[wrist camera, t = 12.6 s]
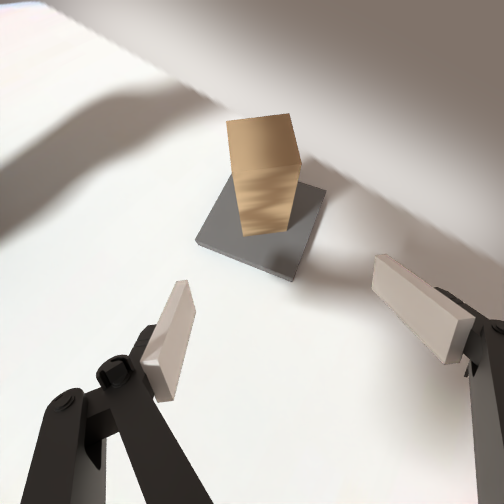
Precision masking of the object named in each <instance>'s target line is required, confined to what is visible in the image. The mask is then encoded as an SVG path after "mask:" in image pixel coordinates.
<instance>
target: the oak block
mask: <svg viewBox="0 0 504 504" xmlns="http://www.w3.org/2000/svg"><path fill="white" fill-rule="evenodd" d="M226 124H227V133H228V142H229V151H230V160H231V169H232V176H233V182H234V187H235V193H236V198H237V204H238V210H239V215H240V221H241V226H242V232H243V237H245V236H253V235H261V234H269V233H277V232H284V231H287V226H288V222H289V218H290V213H291V209H292V204H293V200H294V196H295V191H296V187H297V182H298V178H299V174H300V169H301V165H302V163H301V159H300V155H299V151H298V147H297V142H296V138H295V135H294V131H293V126H292V122H291V118H290V115H289V113H288V114H280V115H272V116H264V117H256V118H247V119H239V120H231V121H226Z"/></svg>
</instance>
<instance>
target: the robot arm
mask: <svg viewBox="0 0 504 504" xmlns="http://www.w3.org/2000/svg"><path fill="white" fill-rule="evenodd" d="M372 290H373V291H374V292H375V293H376V294H377V295H378V296H379V297H380V298H381V299H382V300H383V301H384V303H385V304H386V305H387V306H388V307H389V308H390V309H391V310H392V311H393V312H394V313H395V314H396V315H397V316H398V317H399V318H400V319H401V320H402V321H403V322H404V323H405V324H406V326H407V327H408V328H409V329H410V330H411V331H412V332H413V333H414V334H415V335H416V336H417V337H418V338H419V339H420V340H421V341H422V342H423V343H424V344H425V345H426V346H427V347H428V349H429V350H430V351H431V352H432V353H433V354H434V355H435V356H436V357H437V358H438V359H439V360H440V361H441V362H442V363H443V364H444V365H446V364H453V363H460V360H461V358H462V355H463V353H464V354H465V355H466V356H467V357H468V358H469V359H470V361H469V364H468V367H467V369H466V372H465V375H464V377H467V376H468V374H469V384H470V397H471V411H472V424H473V438H474V452H475V465H476V479H477V492H478V504H504V321H500V320H489V319H488V318H486V317H485V316H483V315H482V314H480V313H479V312H477V311H476V310H474V309H473V308H471V307H470V306H468V305H467V304H465V303H463V302H462V301H461V300H460V299H457V297H455V296H454V295H452V294H451V293H449V292H448V291H445V290H443V289H440V288H438V287H434V288H433V287H432V286H430V285H429V284H428V283H426V282H425V281H423V280H422V279H421V278H419V277H418V276H416V275H415V274H414V273H412V272H411V271H409V270H408V269H406V268H405V267H404V266H402V265H401V264H399V263H398V262H397V261H395V260H394V259H392V258H391V257H390V256H388V255H387V254H384V255H376V256H375V263H374V272H373V280H372ZM195 314H196V310H195V306H194V302H193V299H192V295H191V291H190V287H189V284H188V280H183V281H176V283H175V286H174V288H173V290H172V292H171V294H170V297H169V299H168V301H167V303H166V305H165V307H164V310H163V312H162V314H161V316H160V318H159V321H158V323H157V324H155V325H148V326H147V327H146V328H145V329H144V330H143V331H142V332H141V333H140V335H139V337H138V339H137V341H136V343H135V345H134V348H132V350H131V352H130V354H129V356H127V355H117V356H114V357H112V358H110V359H109V360H107V361H106V362H104V363H103V364H102V365H101V366H100V367H99V369H98V371H97V373H96V379H97V380H98V382H99V384H100V386H101V387H100V388H98V389H95V390H93V391H90V392H88V393H84V392H83V390H82V389H80V388H73V389H69V390H67V391H65V392H63V393H61V394H60V395H59V396H57V397H56V398H55V399H54V400H53V401H52V402H51V403H50V404H49V405H48V407H47V409H46V411H45V413H44V417H43V421H42V424H41V428H40V432H39V436H38V439H37V443H36V447H35V451H34V454H33V458H32V462H31V466H30V469H29V473H28V477H27V481H26V484H25V488H24V492H23V496H22V499H21V503H20V504H105V500H106V437H109V436H111V435H113V434H115V433H117V432H119V433H120V435H121V438H122V441H123V443H124V446H125V448H126V451H127V454H128V456H129V459H130V462H131V464H132V467H133V470H134V472H135V475H136V477H137V480H138V483H139V485H140V488H141V491H142V493H143V496H144V498H145V501H146V504H213V502H212V500H211V498H210V497H209V495H208V493H207V492H206V490H205V488H204V486H203V485H202V483H201V481H200V480H199V478H198V476H197V474H196V473H195V471H194V469H193V468H192V466H191V464H190V462H189V461H188V459H187V457H186V456H185V454H184V452H183V450H182V449H181V447H180V445H179V444H178V442H177V440H176V439H175V437H174V435H173V433H172V432H171V430H170V428H169V427H168V425H167V423H166V421H165V420H164V418H163V416H162V415H161V413H160V411H159V409H158V408H157V406H156V404H155V403H154V401H153V397H154V396H155V398H156V400H157V402H158V403H159V402H167V401H174V397H175V393H176V389H177V385H178V381H179V377H180V373H181V369H182V365H183V361H184V357H185V353H186V349H187V345H188V341H189V337H190V334H191V330H192V326H193V322H194V318H195Z"/></svg>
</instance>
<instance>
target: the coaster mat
mask: <svg viewBox="0 0 504 504" xmlns="http://www.w3.org/2000/svg"><path fill="white" fill-rule="evenodd" d="M325 194H326V190H323V189H320V188H317V187H313V186H310V185H307V184H304V183H301V182H297V187H296V191H295V196H294V200H293V204H292V209H291V213H290V218H289V222H288V226H287V231H284V232H277V233H269V234H261V235H253V236H245V237H243V232H242V226H241V221H240V215H239V210H238V204H237V198H236V193H235V187H234V182H233V176H232V174H231V176H230V177H229V179H228V181H227V183H226V185H225V186H224V188H223V190H222V192H221V194H220V195H219V197H218V199H217V201H216V203H215V204H214V206H213V208H212V210H211V212H210V213H209V215H208V217H207V219H206V221H205V222H204V224H203V226H202V228H201V230H200V232H199V233H198V235H197V237H196V239H195V241H196V242H197V244H198V245H200V246H203V247H205V248H208V249H210V250H213V251H215V252H218V253H220V254H223V255H225V256H228V257H230V258H233V259H235V260H238V261H240V262H243V263H245V264H248V265H250V266H253V267H255V268H258V269H260V270H263V271H265V272H268V273H270V274H273V275H275V276H278V277H280V278H283V279H285V280H288V281H290V282H292V281H293V279H294V276H295V273H296V271H297V268H298V265H299V263H300V260H301V257H302V255H303V252H304V249H305V247H306V244H307V242H308V239H309V236H310V234H311V231H312V228H313V226H314V223H315V220H316V218H317V215H318V212H319V210H320V207H321V204H322V202H323V199H324V196H325Z"/></svg>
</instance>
